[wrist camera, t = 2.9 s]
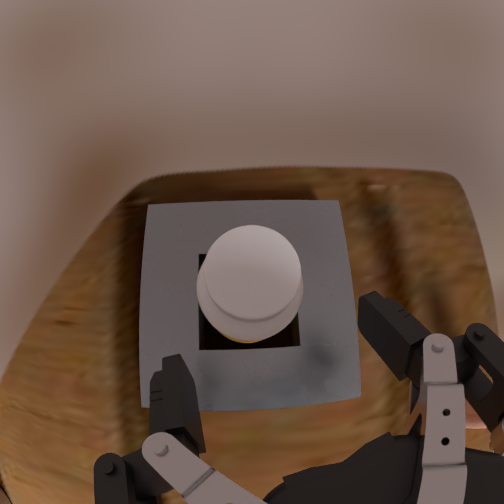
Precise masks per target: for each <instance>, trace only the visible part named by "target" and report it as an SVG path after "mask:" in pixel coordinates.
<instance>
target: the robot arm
mask: <svg viewBox="0 0 504 504" xmlns="http://www.w3.org/2000/svg"><path fill="white" fill-rule="evenodd" d="M358 327H359V330H360V332H361V334H362V335H363V336H364V338H365V339H366V340H367V341H368V342H369V344H370V345H371V346H372V347H373V349H374V350H375V351H376V352H377V353H378V355H379V356H380V357H381V358H382V360H383V361H384V362H385V363H386V365H387V366H388V367H389V368H390V370H391V371H392V372H393V373H394V375H395V376H396V377H397V378H398V380H399V381H402V380H404V379H405V378H407V377H409V379H410V380H411V382H410V389H409V403H408V414H407V421H406V424H405V427H404V431H403V435H397V436H392V435H391V433H390V432H387V433H386V434H384V435H382V436H380V437H378V438H376V439H374V440H372V441H370V442H368V443H366V444H365V445H364V446H362V447H361V448H360V449H359V450H357V451H356V452H355V453H354V454H352V455H351V456H350V457H348V458H347V459H346V460H344V461H343V462H340V463H335V464H330V465H324V466H318V467H311V468H308V469H305V470H302V471H300V472H297V473H294V474H291V475H287V476H284V477H283V480H284V482H283V483H282V484H280V485H278V486H277V487H275V488H274V489H273V490H272V491H270V492H269V493H268V494H267V495H266V496H265V498H264V499H263V500H261V499H259V498H257V497H256V496H254V495H252V494H251V493H249V492H248V491H246V490H245V489H243V488H241V487H240V486H238V485H237V484H235V483H234V482H232V481H231V480H230V479H228V478H227V477H225V476H224V475H222V474H221V473H220V472H218V471H217V470H215V469H213V468H211V467H210V466H208V465H207V464H206V463H205V462H203V461H202V460H201V459H199V454H200V453H205V452H206V448H205V443H204V437H203V431H202V425H201V419H200V412H199V406H198V399H197V392H196V386H195V382H194V379H193V377H192V375H191V373H190V371H189V369H188V367H187V366H186V364H185V362H184V360H183V358H182V356H181V355H180V354H175V355H171V356H167V357H163V358H162V370H161V371H156V372H154V374H153V376H152V378H151V380H150V394H149V401H150V403H149V422H150V434H149V437H148V438H147V439H146V440H145V441H144V443H143V446H142V448H141V449H139V450H137V451H135V452H133V453H130V454H128V455H126V456H123V457H120V456H119V455H117V454H114V453H106V454H103V455H102V456H100V457H99V458H98V459H97V461H96V462H95V465H94V495H95V504H162V498H161V494H163V493H165V492H168V491H170V490H172V489H176V490H177V491H178V492H179V493H180V494H181V495H182V497H183V498H184V499H185V500H186V501H187V502H188V503H189V504H504V342H503V341H502V340H501V339H500V338H499V337H498V336H497V335H496V334H495V333H494V332H493V331H491V330H490V329H489V328H488V327H487V326H486V325H484V324H481V323H473V324H471V325H469V326H468V327H467V329H466V332H465V335H461V336H457V337H454V338H449V337H447V336H446V335H443V334H438V333H436V334H432V333H430V332H429V331H428V330H427V329H426V328H425V327H424V326H423V325H422V324H421V323H420V322H419V321H418V320H417V319H416V318H415V317H414V316H412V315H410V313H409V312H408V311H407V310H405V308H404V307H403V306H402V305H400V304H399V303H398V302H397V301H395V300H392V299H390V298H388V297H387V298H385V299H384V298H383V297H382V296H381V295H380V294H379V293H378V292H376V291H373V292H370V293H368V294H365V295H363V296H361V297H360V298H359V305H358ZM479 365H481V366H482V367H483V368H484V369H485V370H486V372H487V373H488V374H489V375H490V376H491V377H492V380H493V383H492V382H491V381H490V380H489V379H488V377H487V376H486V375H485V374H484V373H483V372H482V371H481V369H480V368H479ZM465 399H466V400H467V401H468V402H469V404H470V405H471V406H472V408H473V409H474V410H475V412H476V413H477V414H478V416H479V417H480V418H481V420H482V421H483V423H484V424H485V425H486V427H487V428H488V430H489V431H490V432H491V436H490V440H491V442H490V445H489V446H490V449H491V450H493V451H494V453H492V452H486V451H481V450H476V449H471V448H466V447H465ZM0 504H11V503H10V501H9V499H8V498H7V496H6V495H5V493H4V491H3V490H2V489H1V487H0Z"/></svg>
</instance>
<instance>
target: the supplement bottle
mask: <svg viewBox="0 0 504 504" xmlns="http://www.w3.org/2000/svg"><path fill="white" fill-rule="evenodd" d="M197 297H198V301H199V305H200V307H201V309H202V312H203V313H204V315H205V317H206V318H207V320H208V321H209V322H210V324H211V325H212V326H213V327H214V328H216V329H217V330H218V331H219V332H220V333H221V334H222V335H224V336H225V337H226V338H228V339H230V340H232V341H235V342H239V343H255V342H259V341H262V340H264V339H266V338H269V337H271V336H273V335H275V334H277V333H278V332H280V331H281V330H283V329H284V328H285V327H286V326H287V325H288V324H289V323H290V322H291V321H292V320H293V318H294V317H295V315H296V313H297V312H298V309H299V307H300V304H301V301H302V297H303V279H302V274H301V265H300V261H299V257H298V255H297V253H296V251H295V249H294V248H293V246H292V245H291V243H290V242H289V241H288V240H287V239H286V238H285V237H284V236H283V235H281V234H280V233H278V232H277V231H275V230H273V229H270V228H267V227H263V226H258V225H246V226H240V227H237V228H234V229H231V230H229V231H227V232H226V233H224V234H223V235H221V236H220V237H219V238H218V239H217V240H216V241H215V242H214V243H213V245H212V246H211V247H210V249H209V251H208V253H207V255H206V258H205V260H204V262H203V264H202V266H201V268H200V271H199V274H198V278H197Z"/></svg>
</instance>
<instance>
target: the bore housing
mask: <svg viewBox="0 0 504 504" xmlns="http://www.w3.org/2000/svg"><path fill="white" fill-rule="evenodd" d="M246 225H258V226H263V227H267V228H270V229H273V230H275V231H277V232H278V233H280V234H281V235H283V236H284V237H285V238H286V239H287V240H288V241H289V242H290V243H291V245H292V246H293V248H294V249H295V251H296V253H297V255H298V257H299V261H300V265H301V274H302V279H303V297H302V301H301V304H300V307H299V309H298V312H297V313H296V315H295V317H294V318H293V320H292V321H291V322H290V324H291V340H292V347H281V348H264V349H241V350H205V326H204V313H203V312H202V309H201V307H200V305H199V301H198V297H197V278H198V274H199V271H200V268H201V266H202V264H203V262H204V260H205V258H206V255H207V253H208V251H209V249H210V247H211V246H212V245H213V243H214V242H215V241H216V240H217V239H218V238H219V237H220V236H221V235H223V234H224V233H226V232H227V231H229V230H231V229H234V228H237V227H240V226H246ZM175 354H180V355H181V356H182V358H183V360H184V362H185V364H186V366H187V367H188V369H189V371H190V373H191V375H192V377H193V379H194V382H195V386H196V392H197V399H198V406H199V411H244V410H264V409H278V408H289V407H298V406H307V405H314V404H322V403H328V402H335V401H341V400H346V399H352V398H357V397H361V380H360V360H359V345H358V333H357V322H356V312H355V302H354V294H353V286H352V278H351V271H350V264H349V257H348V251H347V244H346V238H345V233H344V227H343V221H342V216H341V211H340V206H339V201H338V200H243V201H210V202H187V203H168V204H152V205H148V211H147V219H146V227H145V237H144V247H143V259H142V272H141V290H140V318H139V361H140V388H141V404H142V407H147V408H149V403H150V401H149V394H150V380H151V378H152V376H153V374H154V372H156V371H161V370H162V358H163V357H167V356H171V355H175Z"/></svg>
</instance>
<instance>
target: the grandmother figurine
mask: <svg viewBox="0 0 504 504" xmlns="http://www.w3.org/2000/svg"><path fill="white" fill-rule="evenodd" d="M465 428H487V427H486V425H485V424H484V423H483V421H482V420H481V418H480V417H479V416H478V414H477V413H476V412H475V410H474V409H473V408H472V406H471V405H470V404H469V402H468V401H467V400H466V399H465Z"/></svg>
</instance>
